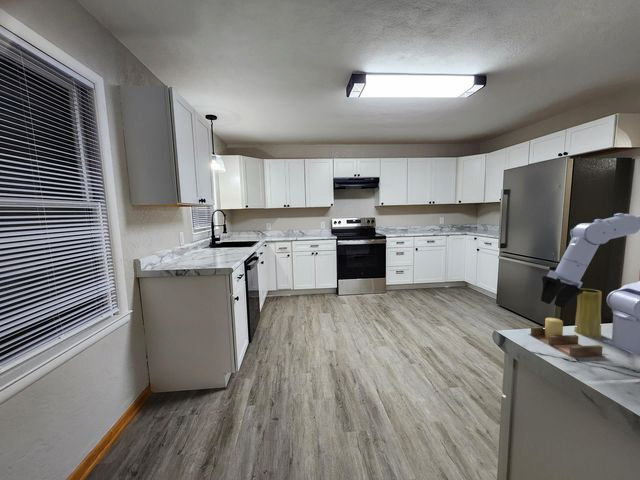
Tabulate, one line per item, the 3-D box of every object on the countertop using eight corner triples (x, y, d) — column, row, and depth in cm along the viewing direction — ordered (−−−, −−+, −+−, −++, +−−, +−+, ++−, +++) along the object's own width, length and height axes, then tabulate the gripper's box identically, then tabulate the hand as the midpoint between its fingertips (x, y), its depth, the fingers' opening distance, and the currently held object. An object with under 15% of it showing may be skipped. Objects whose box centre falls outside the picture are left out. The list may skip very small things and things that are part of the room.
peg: (553, 336, 82) (554, 317, 82) (566, 342, 78) (566, 322, 78) (541, 336, 82) (541, 318, 82) (552, 342, 78) (553, 323, 78)
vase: (607, 339, 80) (609, 293, 79) (583, 338, 81) (585, 292, 80) (591, 331, 86) (593, 288, 85) (569, 330, 87) (570, 287, 86)
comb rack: (555, 334, 84) (555, 325, 84) (605, 358, 70) (606, 347, 69) (527, 335, 84) (528, 326, 84) (572, 359, 69) (572, 348, 69)
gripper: (570, 263, 83) (549, 301, 85) (545, 252, 77) (524, 294, 79) (599, 271, 76) (576, 313, 78) (574, 260, 70) (550, 305, 73)
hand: (551, 304), depth 78 cm, fingers open, 7 cm apart
